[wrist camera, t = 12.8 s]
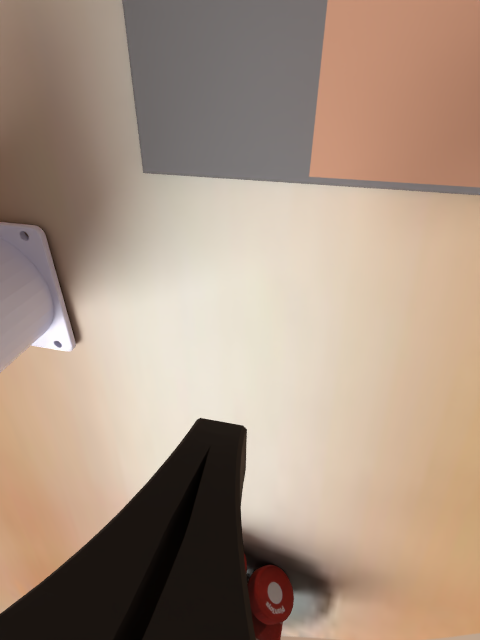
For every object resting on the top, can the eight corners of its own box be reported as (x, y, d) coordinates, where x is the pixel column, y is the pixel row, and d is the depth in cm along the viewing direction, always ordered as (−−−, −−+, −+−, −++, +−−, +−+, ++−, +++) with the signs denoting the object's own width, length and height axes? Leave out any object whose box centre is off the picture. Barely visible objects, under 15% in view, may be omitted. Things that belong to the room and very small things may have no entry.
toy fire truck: (198, 514, 33) (147, 674, 24) (310, 584, 35) (299, 752, 26) (160, 539, 36) (104, 684, 28) (263, 600, 39) (240, 751, 30)
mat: (147, 170, 17) (143, 172, 17) (107, -172, 12) (100, -178, 12) (605, 200, 14) (611, 203, 14) (841, -247, 9) (861, -259, 8)
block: (309, 176, 13) (536, 191, 12) (347, -188, 9) (712, -224, 8) (313, 161, 15) (508, 172, 14) (346, -140, 11) (634, -163, 10)
